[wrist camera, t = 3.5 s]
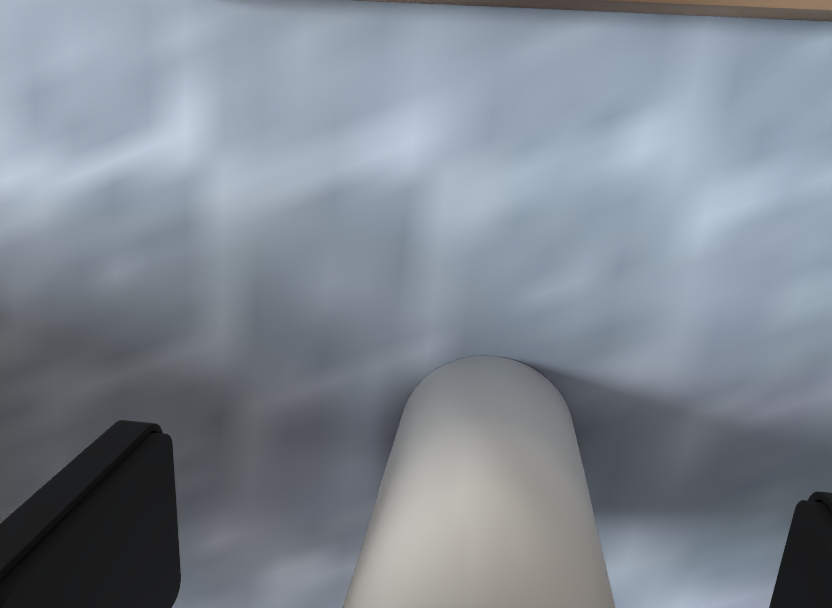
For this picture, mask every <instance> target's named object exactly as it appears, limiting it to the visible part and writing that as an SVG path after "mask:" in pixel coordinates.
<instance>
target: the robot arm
mask: <svg viewBox="0 0 832 608" xmlns="http://www.w3.org/2000/svg"><path fill="white" fill-rule="evenodd" d="M180 582H181V572H180V556H179V541H178V525H177V509H176V493H175V478H174V462H173V446H172V439H171V437H170V436H169V435H168V434H163V433H162V430H161V427H160V426H159V425H158V424H155V423H145V422H135V421H126V420H120V421H118V422H116V423H115V424H114V425H113V426H111V427H110V428H109V429H108V430H107V431H106V432H105V433H103V434H102V435H101V436H100V437H99V438H98V439H97V440H95V441H94V442H93V443H92V444H91V445H90V446H89V447H87V448H86V449H85V450H84V451H83V452H82V453H81V454H79V455H78V456H77V457H76V458H75V459H74V460H73V461H71V462H70V463H69V464H68V465H67V466H66V467H65V468H63V469H62V470H61V471H60V472H59V473H58V474H57V475H55V476H54V477H53V478H52V479H51V480H50V481H49V482H47V483H46V484H45V485H44V486H43V487H42V488H41V489H39V490H38V491H37V492H36V493H35V494H34V495H33V496H31V497H30V498H29V499H28V500H27V501H26V502H25V503H23V504H22V505H21V506H20V507H19V508H18V509H17V510H15V511H14V512H13V513H12V514H11V515H10V516H9V517H7V518H6V519H5V520H4V521H3V522H2V523H1V524H0V608H172V606H173V604H174V602H175V600H176V598H177V595H178V592H179V588H180ZM769 608H832V493H827V492H815V493H813V494H812V495H811V496H810V497H809V499H808V501H806V500H802V501H800V502H799V503H798V504H797V506H796V508H795V511H794V515H793V519H792V523H791V526H790V530H789V534H788V538H787V542H786V545H785V549H784V553H783V557H782V561H781V565H780V568H779V572H778V576H777V580H776V584H775V587H774V591H773V595H772V599H771V603H770V607H769Z"/></svg>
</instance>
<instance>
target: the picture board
mask: <svg viewBox="0 0 832 608" xmlns="http://www.w3.org/2000/svg"><path fill="white" fill-rule="evenodd" d="M359 1H382V2H405V3H428V4H451V5H474V6H496V7H519V8H542V9H565V10H588V11H610V12H633V13H656V14H679V15H702V16H725V17H747V18H770V19H793V20H816V21H832V0H359Z"/></svg>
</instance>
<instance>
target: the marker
mask: <svg viewBox="0 0 832 608" xmlns="http://www.w3.org/2000/svg"><path fill="white" fill-rule="evenodd" d="M343 608H615V604H614V599H613V595H612V591H611V586H610V582H609V578H608V573H607V569H606V565H605V560H604V556H603V552H602V547H601V543H600V539H599V534H598V530H597V525H596V521H595V517H594V512H593V508H592V504H591V499H590V495H589V491H588V486H587V482H586V478H585V473H584V469H583V465H582V460H581V456H580V451H579V447H578V443H577V438H576V434H575V430H574V425H573V421H572V417H571V413H570V411H569V408H568V406H567V404H566V402H565V400H564V398H563V397H562V395H561V394H560V392H559V391H558V390H557V389H556V387H555V386H554V385H553V384H552V383H551V382H550V381H549V380H548V379H547V378H546V377H544V376H543V375H542V374H540V373H539V372H538V371H536V370H534V369H533V368H531V367H529V366H527V365H525V364H522V363H520V362H518V361H515V360H511V359H508V358H503V357H497V356H472V357H466V358H462V359H458V360H455V361H452V362H449V363H447V364H445V365H443V366H441V367H439V368H437V369H436V370H434V371H433V372H431V373H430V374H429V375H427V376H426V377H425V378H424V379H423V380H422V381H421V382H420V383H419V384H418V385H417V387H416V388H415V389H414V390H413V392H412V394H411V395H410V397H409V398H408V401H407V403H406V405H405V407H404V411H403V414H402V417H401V420H400V424H399V427H398V430H397V433H396V437H395V440H394V443H393V446H392V450H391V453H390V456H389V459H388V463H387V466H386V469H385V472H384V476H383V479H382V482H381V485H380V489H379V492H378V495H377V498H376V502H375V505H374V508H373V511H372V515H371V518H370V521H369V524H368V528H367V531H366V534H365V537H364V541H363V544H362V547H361V550H360V554H359V557H358V560H357V563H356V567H355V570H354V573H353V576H352V580H351V583H350V586H349V589H348V593H347V596H346V599H345V602H344V606H343Z"/></svg>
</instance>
